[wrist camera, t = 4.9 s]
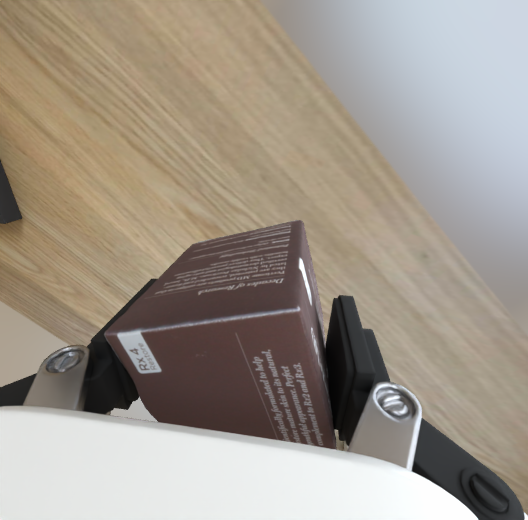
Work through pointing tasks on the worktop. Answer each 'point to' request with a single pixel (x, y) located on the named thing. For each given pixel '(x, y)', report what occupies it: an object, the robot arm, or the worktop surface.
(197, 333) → the box
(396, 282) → the worktop surface
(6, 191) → the scale
